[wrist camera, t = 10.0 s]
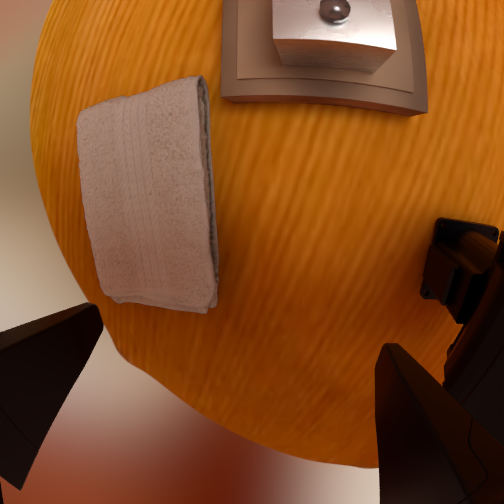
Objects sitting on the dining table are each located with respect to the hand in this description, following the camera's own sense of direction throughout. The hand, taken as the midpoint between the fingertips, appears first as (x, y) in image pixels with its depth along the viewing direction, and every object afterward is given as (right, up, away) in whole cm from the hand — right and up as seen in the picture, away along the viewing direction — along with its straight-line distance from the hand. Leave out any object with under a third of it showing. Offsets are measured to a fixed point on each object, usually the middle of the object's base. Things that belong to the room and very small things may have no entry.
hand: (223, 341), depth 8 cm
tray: (+6, +18, +6) cm, 19 cm away
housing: (+5, +16, +3) cm, 17 cm away
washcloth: (-7, +7, +14) cm, 17 cm away
